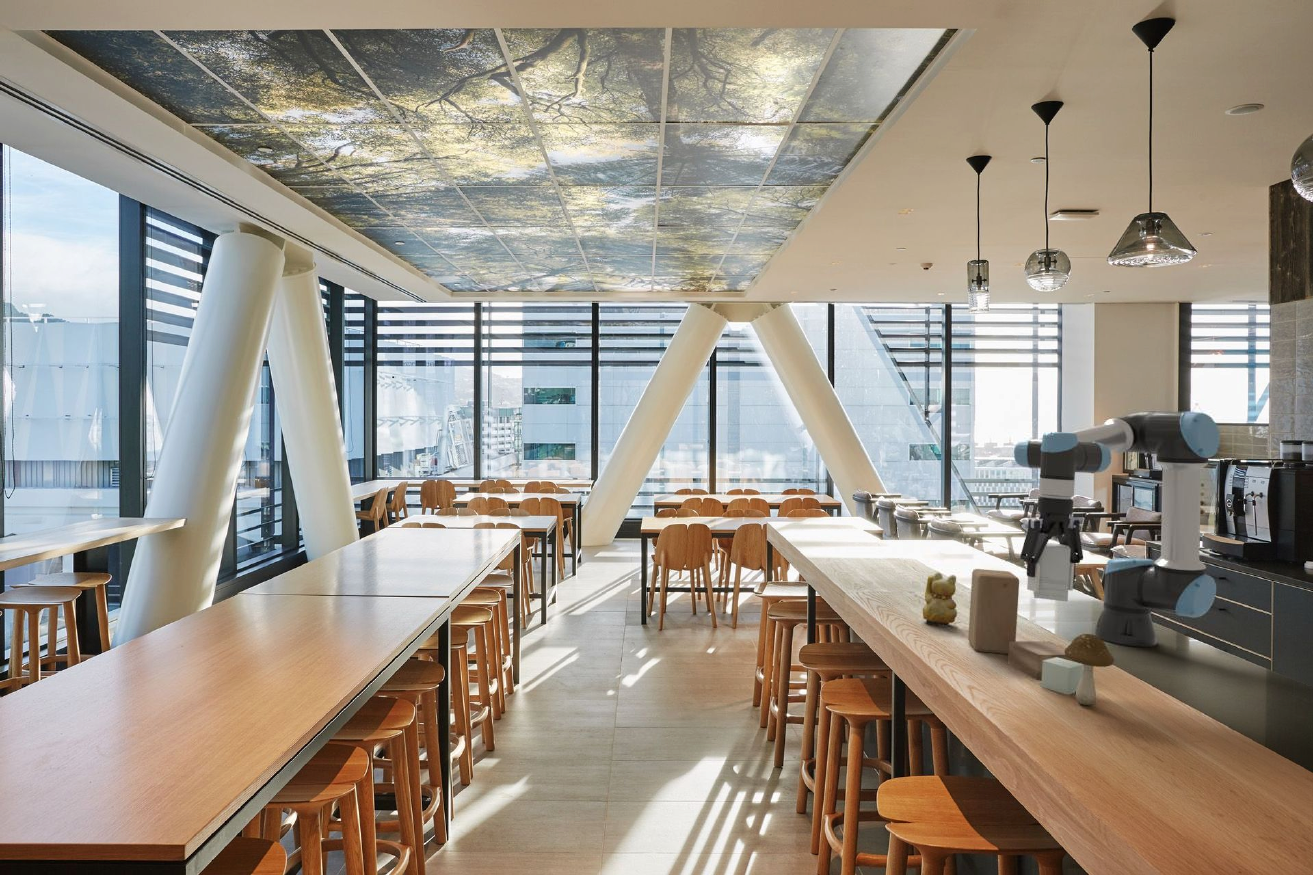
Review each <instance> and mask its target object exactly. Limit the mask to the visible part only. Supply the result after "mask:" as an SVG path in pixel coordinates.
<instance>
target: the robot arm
mask: <svg viewBox="0 0 1313 875" xmlns="http://www.w3.org/2000/svg"><path fill="white" fill-rule="evenodd" d="M1220 436H1221V435H1220V432H1219V427H1218V425H1217V422H1215V421H1214V419H1213V417H1211V416H1210V415H1208V414H1206V413H1203V412H1198V411H1153V410H1151V411H1141V412H1136V413H1132V414H1131V413H1130V414H1127V415H1123V416H1119V417H1114V418H1110V419H1108V420H1106V421H1104V422H1103V423H1102V424H1100V425H1095V426H1091V427H1087V428H1082V429H1078V430H1074V431H1069V432H1059V431H1046V432H1044V433H1043V435H1042V438H1032V437H1030V438H1023V439H1020V440H1019V441H1017V443H1016V444H1015V446H1014V451H1013V457H1014V461H1015V462H1016V464H1017V465H1018V466H1020V467H1024V468H1029V469H1040V470H1039V472H1040V474H1039V483H1038V484H1039V485H1038V494H1039V495H1041V496H1039V497H1038V498H1037V512H1038V513H1039V517H1038V519H1034V518H1029V519H1028V520H1027V521H1028V522H1027V523H1028V524H1027V526H1028V527H1027V528H1028V529H1027V532H1026V535H1025V538H1024V542H1023V545H1022V549H1021V552H1020V556H1019V557H1020V558H1019V559H1021V560H1022V561H1023V562H1026V563H1027V564H1026V577H1027V583H1026V584H1027V587H1026V589H1027V590H1028V591H1031V592H1033V591H1035V592H1039V578H1040V564H1037V562H1038V560H1039V558H1040V556H1041V554H1042V552H1043V550H1044V548H1045V546H1046V544H1047V543H1049V540H1052V538H1053V537H1055V538H1057V540H1058V544H1063V545H1067V546H1069V548H1070V549H1071V551H1070V567H1069V584H1068V591H1070V592H1072V591H1073V589H1074V576H1075V574H1076V564H1080V563H1081V561H1083V559H1084V554H1083V547H1082V541H1081V539H1082V538H1081V534H1080V525H1081V522H1080V520H1079V519H1073V518H1070V515H1072V514H1073V513H1074V500H1073V499H1072V498H1073V497H1074V496H1075V484H1076V483H1075V482H1076V480H1075V479H1076V478H1075V477H1076V473H1083V474H1084V473H1085V474H1087V473H1088V474H1095V473H1101V472H1104V471H1106V470H1107V469H1108V468H1109V467H1110V465H1111V462H1112V453H1114V454H1121V453H1139V454H1149V455H1150V454H1152V455H1155V456H1156V457H1155V458H1156V460H1155V463H1157V465H1159V466H1160V467H1161V469H1162V478H1161V479H1162V483H1161V485H1162V486H1161V488H1162V489H1161V490H1162V491H1161V525H1160V526H1161V529H1160V530H1161V532H1160V536H1161V538H1160V539H1161V540H1160V556H1159V557H1158V558H1157V559H1156V560H1153V559H1150V558H1138V557H1137V558H1136V557H1135V558H1131V557H1129V558H1127V557H1123V558H1110V559H1109V560H1108V561H1107V562H1106V566H1105V571H1104V590H1103V591H1104V592H1103V593H1104V594H1103V609H1102V611H1101V614H1100V616H1099V618H1098V620H1097V622H1096V625H1095V627H1094V635H1095V636H1097V637H1098V638H1100V639H1101V640H1102V641H1106V642H1109V643H1110V642H1111V643H1114V644H1119V645H1125V646H1130V647H1131V646H1132V647H1140V648H1141V647H1142V648H1144V647H1148V648H1149V647H1156V645H1157V641H1158V640H1157V637H1158V636H1157V634H1156V630H1155V627H1154V624H1153V619H1152V616H1151V614H1152V610H1157V611H1161V612H1165V613H1168V614H1169V613H1170V614H1173V615H1177V616H1180V617H1189V618H1200V617H1201V616H1202V617H1203V616H1204V615H1205V614H1206V613H1207V612H1209V610H1210V608H1211V607H1212V605H1213V604H1214V602H1215V599H1216V598H1215V597H1216V595H1217V584H1216V582H1215V579H1214V578H1213V577H1212V576H1210V575H1208V574H1207V573H1206V572H1207V571H1206V570H1207V569H1206V568H1207V566H1206V565H1205V564H1204V563H1203V562H1202V561H1201V560H1200V541H1201V540H1200V539H1201V538H1200V537H1201V536H1200V535H1201V498H1202V497H1201V496H1202V495H1201V494H1202V493H1201V492H1202V469H1204V468H1205V467H1206V466H1207V465H1209V458H1212V457H1214V456H1215V455H1216V454H1217V452H1218V451H1219V450H1218V449H1219V448H1220V444H1221V443H1220V442H1221V437H1220Z"/></svg>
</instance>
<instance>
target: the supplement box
mask: <svg viewBox="0 0 1313 875" xmlns="http://www.w3.org/2000/svg"><path fill="white" fill-rule="evenodd" d="M1070 551H1071V549H1070V548H1069V546H1067V545H1063V544H1060V543H1052V542H1051V543H1049V542H1047V544H1046V546H1045V548H1044V550H1043V552H1042V554H1041V556H1040V558H1039V560H1038V562H1037V564H1040V578H1039V592H1035V591H1032V593H1033V598H1034V599H1040V600H1041V599H1042V600H1050V601H1059V602H1066V603H1067V602H1068V597H1069V590H1068V584H1069V567H1070Z"/></svg>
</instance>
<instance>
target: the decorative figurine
mask: <svg viewBox="0 0 1313 875" xmlns="http://www.w3.org/2000/svg"><path fill="white" fill-rule="evenodd" d="M926 580H927V582H926V587H925V591H924V601H925V604H924V605H923V607H922V618H923V620H926V622H925V624H926V625H928V624H929V625H933V626H936V627H946V626H948V625H950V624H952V623H955V621H956V618H957V615H958V611H957V609H956V608H957V603H956V602H955V600H954V599H953V597H952V596H954V595H955V593H956V591H957V590H956V589H957V588H956V582H957V576H956V575H954V574H951V575H949V576H948V577H947V578H943V574H942V573H941V572H940V571H936V572H934V574H933V575H929V576H928V577H927V579H926Z"/></svg>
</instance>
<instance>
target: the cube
mask: <svg viewBox="0 0 1313 875" xmlns="http://www.w3.org/2000/svg"><path fill="white" fill-rule="evenodd" d="M1083 667H1084V666H1083V664H1081V663H1076V662H1073V661H1069V660H1065V659H1062V658H1058V657H1056V658H1051V659H1047V660H1043V666H1042V679H1041V683H1040V684H1041V685H1040V687H1041V688H1043V689H1047V690H1049V691H1050V690H1051V691H1054V692H1057V693H1060V694H1063V693H1065V694H1064V695H1066V694H1067V695H1066V696H1069V695H1072V694H1071V693H1073V694H1076V693H1075V692H1076V690H1077V688H1078V685H1079V682H1080V680H1081V677H1082V674H1083ZM1068 694H1069V695H1068Z"/></svg>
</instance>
